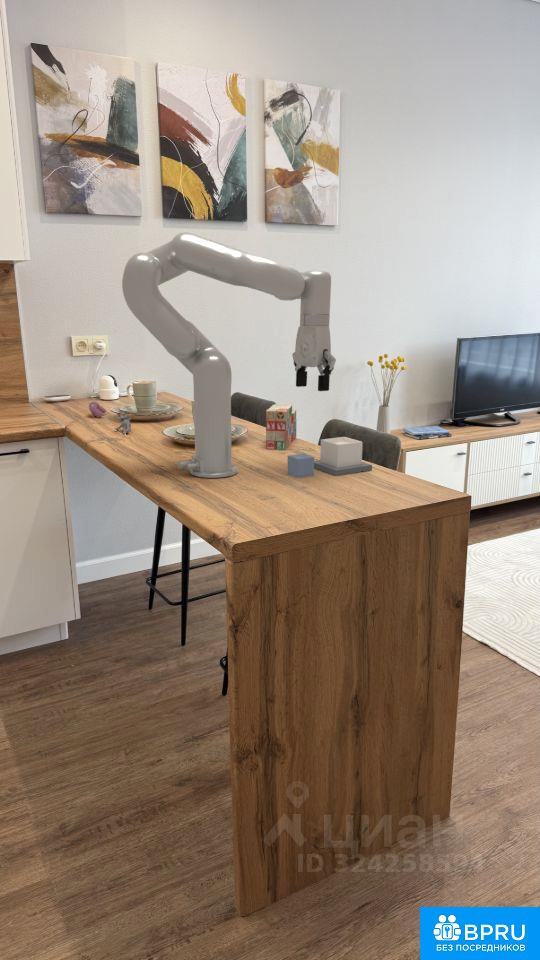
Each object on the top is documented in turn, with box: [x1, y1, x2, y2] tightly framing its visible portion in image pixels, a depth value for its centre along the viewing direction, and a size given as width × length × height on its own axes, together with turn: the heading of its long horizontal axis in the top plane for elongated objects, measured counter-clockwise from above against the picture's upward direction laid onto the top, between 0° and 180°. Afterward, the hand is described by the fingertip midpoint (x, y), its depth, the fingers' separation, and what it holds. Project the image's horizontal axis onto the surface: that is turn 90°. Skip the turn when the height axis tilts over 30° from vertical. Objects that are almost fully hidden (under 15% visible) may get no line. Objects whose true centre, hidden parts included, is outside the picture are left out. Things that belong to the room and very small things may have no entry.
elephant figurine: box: [114, 412, 137, 435], centre depth 238 cm, size 10×6×9 cm
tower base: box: [314, 436, 373, 477], centre depth 189 cm, size 12×12×8 cm
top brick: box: [287, 453, 315, 479], centre depth 183 cm, size 5×5×5 cm
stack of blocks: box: [265, 404, 297, 451], centre depth 221 cm, size 21×6×12 cm, turn 169°
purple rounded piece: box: [88, 401, 108, 418], centre depth 270 cm, size 10×5×7 cm, turn 6°
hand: (312, 388), depth 183 cm, fingers open, 9 cm apart
